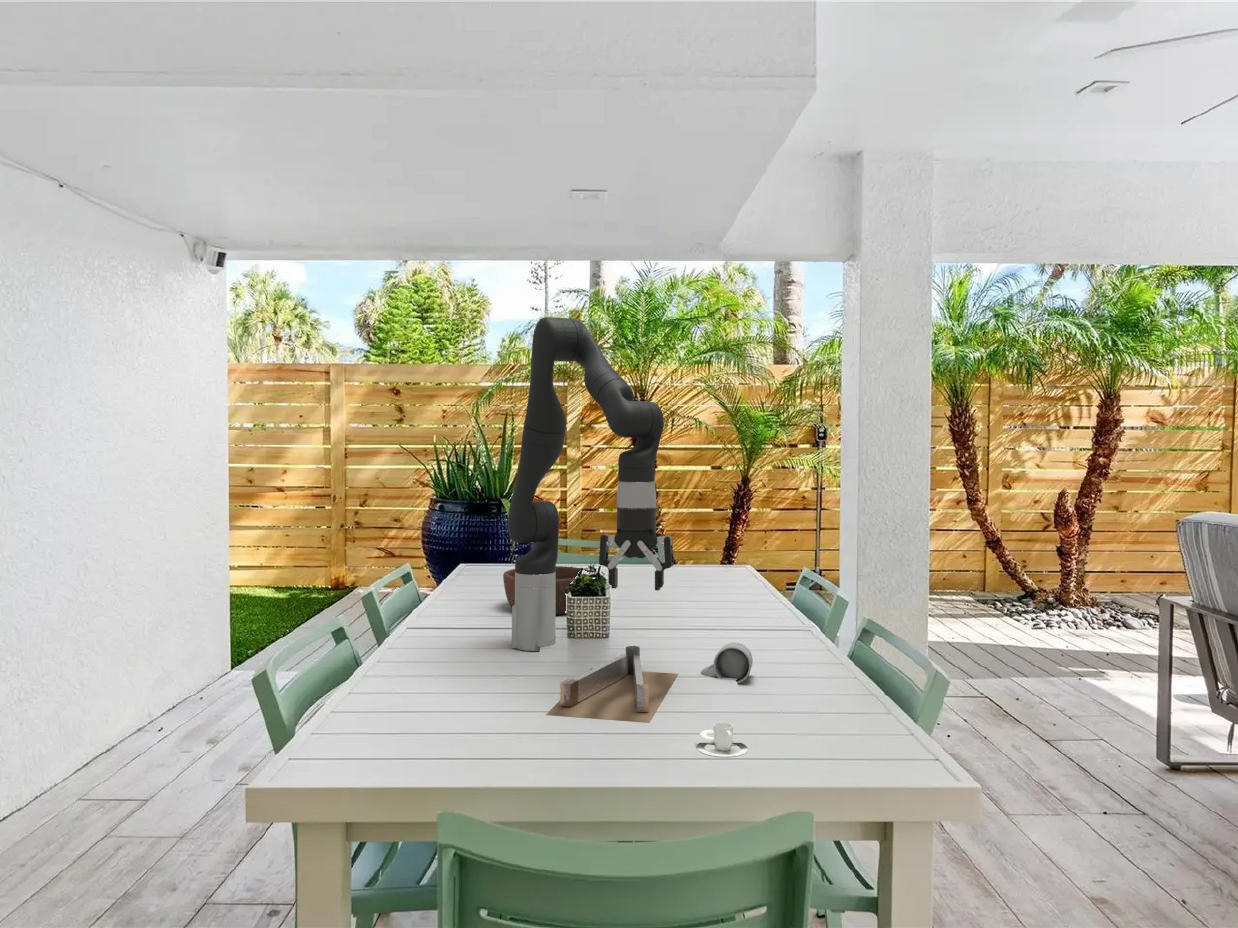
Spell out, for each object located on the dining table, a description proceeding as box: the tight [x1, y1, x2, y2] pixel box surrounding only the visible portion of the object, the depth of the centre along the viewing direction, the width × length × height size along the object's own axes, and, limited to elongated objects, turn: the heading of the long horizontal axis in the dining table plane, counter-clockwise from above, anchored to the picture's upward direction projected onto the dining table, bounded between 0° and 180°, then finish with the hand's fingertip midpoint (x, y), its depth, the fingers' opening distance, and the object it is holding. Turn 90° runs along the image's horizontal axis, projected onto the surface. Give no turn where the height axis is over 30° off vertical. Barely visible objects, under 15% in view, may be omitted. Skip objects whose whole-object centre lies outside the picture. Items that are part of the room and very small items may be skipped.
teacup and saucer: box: [696, 721, 749, 758], centre depth 146 cm, size 9×8×4 cm
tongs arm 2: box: [633, 654, 649, 712], centre depth 172 cm, size 24×2×4 cm, turn 1°
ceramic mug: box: [700, 641, 753, 685], centre depth 187 cm, size 10×8×7 cm
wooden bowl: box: [502, 565, 590, 616], centre depth 258 cm, size 25×25×10 cm
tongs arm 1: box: [559, 653, 628, 707], centre depth 174 cm, size 24×2×4 cm, turn 155°
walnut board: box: [545, 645, 679, 724], centre depth 173 cm, size 18×32×6 cm, turn 168°
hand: (636, 588), depth 180 cm, fingers open, 8 cm apart
